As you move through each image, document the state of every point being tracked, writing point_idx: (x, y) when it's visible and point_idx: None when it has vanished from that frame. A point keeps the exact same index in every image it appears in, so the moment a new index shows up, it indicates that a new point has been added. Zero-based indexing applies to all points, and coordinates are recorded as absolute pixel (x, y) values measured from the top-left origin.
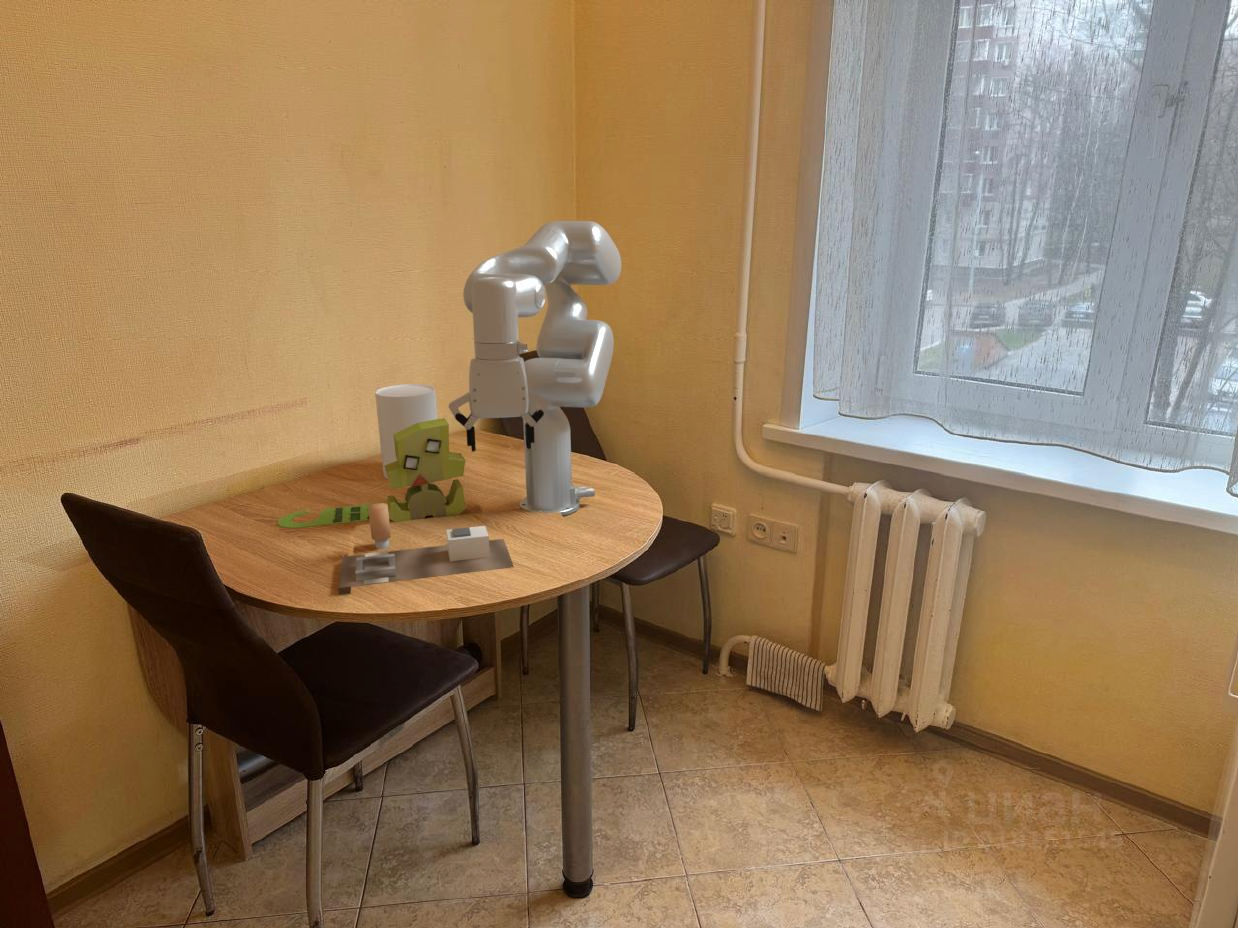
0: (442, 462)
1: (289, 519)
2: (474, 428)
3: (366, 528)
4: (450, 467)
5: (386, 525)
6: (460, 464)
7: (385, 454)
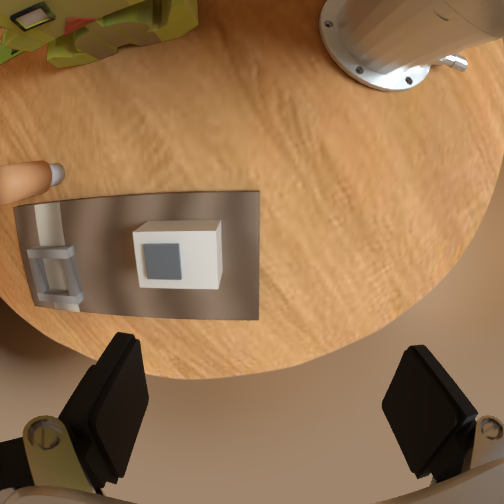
0: None
1: None
2: (111, 461)
3: (40, 71)
4: None
5: (33, 192)
6: None
7: None
